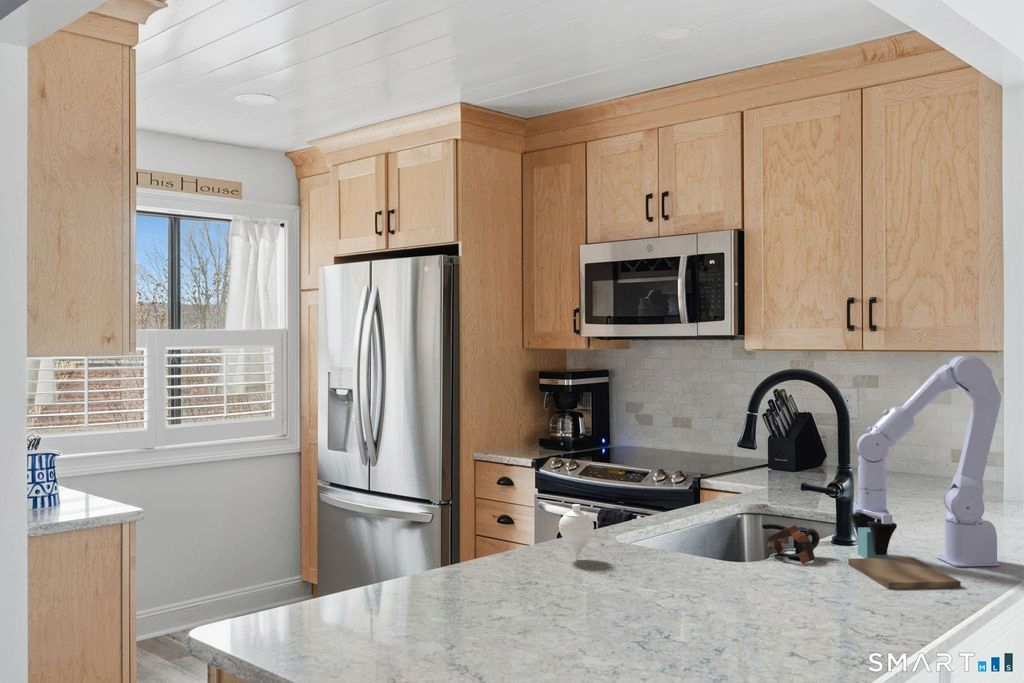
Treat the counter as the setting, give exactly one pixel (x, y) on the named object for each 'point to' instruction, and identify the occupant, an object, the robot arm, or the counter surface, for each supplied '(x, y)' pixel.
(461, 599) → the counter surface
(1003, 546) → the counter surface
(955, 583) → the walnut board
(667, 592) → the counter surface
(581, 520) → the spinning top
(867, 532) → the teal block
